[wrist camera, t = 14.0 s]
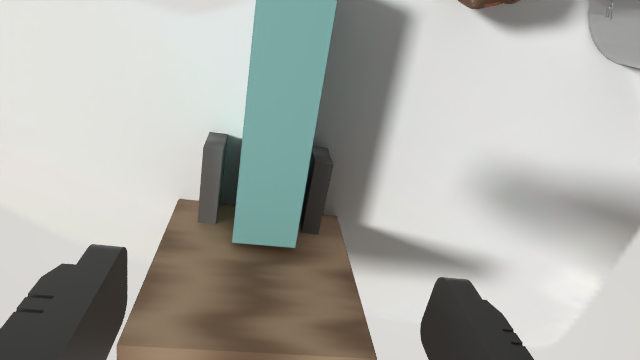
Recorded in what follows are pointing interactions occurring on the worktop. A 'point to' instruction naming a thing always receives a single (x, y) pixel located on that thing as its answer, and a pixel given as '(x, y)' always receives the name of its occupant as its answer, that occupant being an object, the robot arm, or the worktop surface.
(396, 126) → the worktop surface
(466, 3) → the tin
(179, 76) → the worktop surface
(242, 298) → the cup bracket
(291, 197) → the rail
